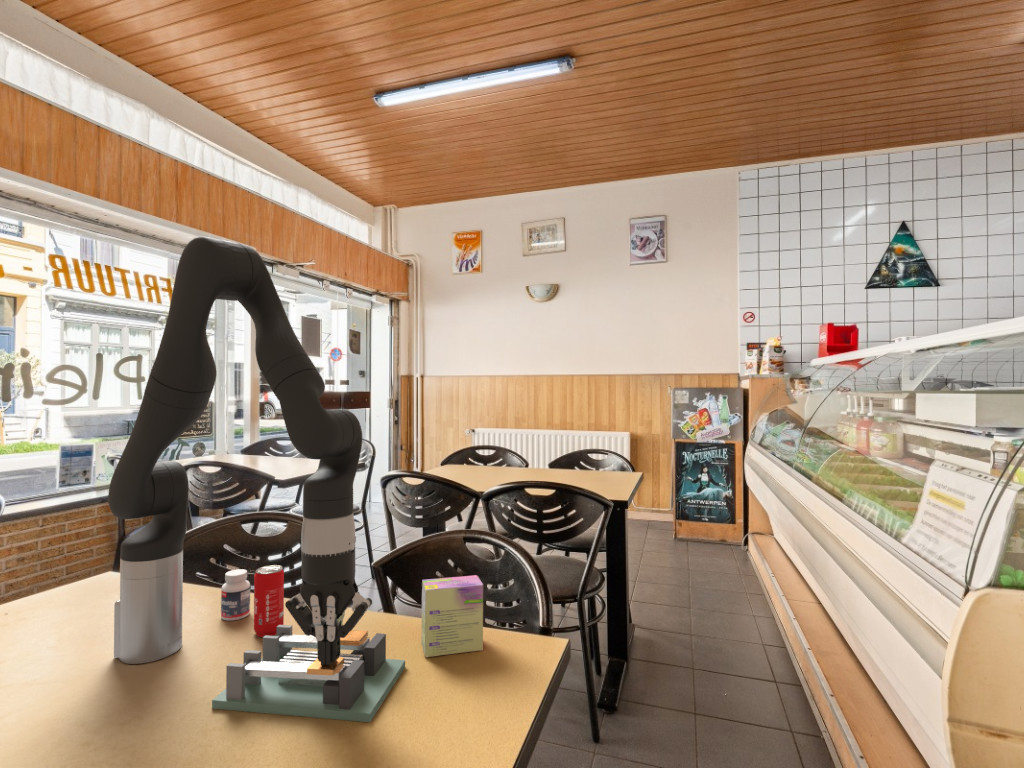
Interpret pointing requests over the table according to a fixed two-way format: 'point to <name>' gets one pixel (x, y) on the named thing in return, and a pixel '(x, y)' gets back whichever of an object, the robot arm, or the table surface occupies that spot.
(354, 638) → the lever far
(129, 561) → the robot arm
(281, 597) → the beverage can
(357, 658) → the heatsink block
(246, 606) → the pill bottle
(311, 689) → the socket board
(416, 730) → the table surface
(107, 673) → the table surface
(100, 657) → the table surface
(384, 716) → the table surface
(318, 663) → the lever near
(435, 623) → the box
